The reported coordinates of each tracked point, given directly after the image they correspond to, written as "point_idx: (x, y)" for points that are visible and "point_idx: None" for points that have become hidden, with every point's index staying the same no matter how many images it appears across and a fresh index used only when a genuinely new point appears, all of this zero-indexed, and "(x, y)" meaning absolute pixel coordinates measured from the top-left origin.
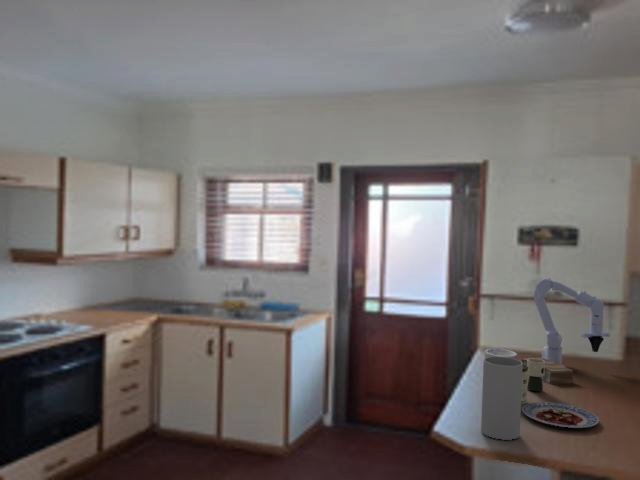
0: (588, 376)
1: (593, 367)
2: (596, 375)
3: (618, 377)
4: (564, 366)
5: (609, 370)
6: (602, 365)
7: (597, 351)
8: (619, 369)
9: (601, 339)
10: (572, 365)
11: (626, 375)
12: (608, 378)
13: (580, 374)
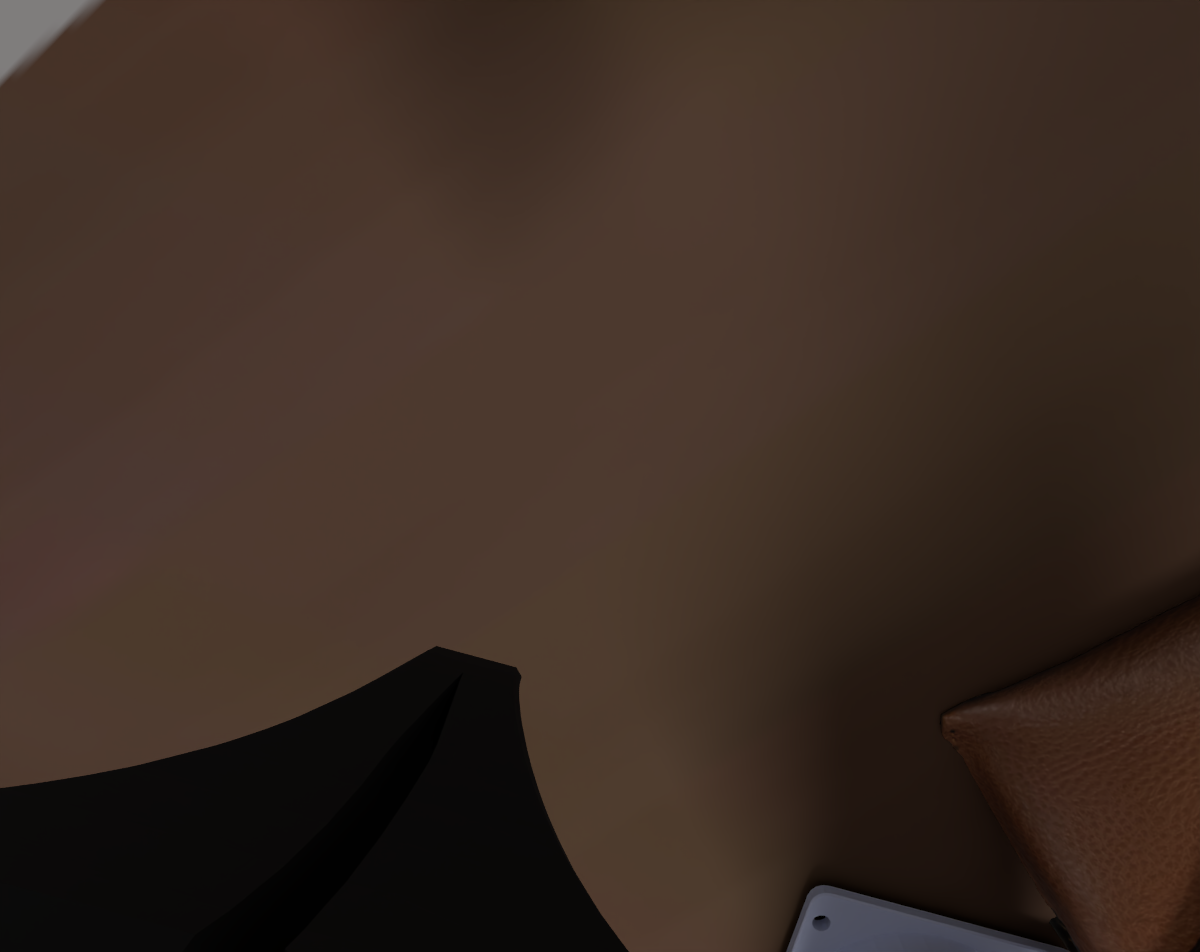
0: (1014, 331)
1: (370, 669)
2: (805, 312)
3: (533, 31)
4: (835, 889)
5: (266, 430)
6: (110, 682)
7: (439, 653)
8: (33, 396)
9: (55, 879)
10: (600, 888)
11: (255, 62)
12: (788, 67)
13: (1019, 483)
